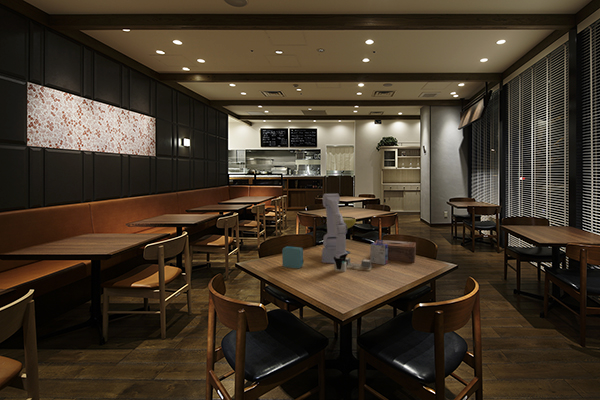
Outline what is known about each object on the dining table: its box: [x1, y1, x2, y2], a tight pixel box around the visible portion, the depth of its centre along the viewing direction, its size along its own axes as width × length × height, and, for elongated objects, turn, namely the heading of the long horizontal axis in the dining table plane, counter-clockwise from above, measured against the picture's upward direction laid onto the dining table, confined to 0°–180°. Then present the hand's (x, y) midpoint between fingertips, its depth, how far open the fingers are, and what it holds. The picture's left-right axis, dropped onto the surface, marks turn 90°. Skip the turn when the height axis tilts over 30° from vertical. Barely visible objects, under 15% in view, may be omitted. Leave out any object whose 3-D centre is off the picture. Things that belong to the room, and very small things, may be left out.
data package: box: [281, 245, 304, 270], centre depth 187 cm, size 12×4×12 cm, turn 69°
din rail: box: [346, 262, 373, 268], centre depth 186 cm, size 19×5×1 cm, turn 68°
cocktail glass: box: [334, 216, 357, 255], centre depth 220 cm, size 18×18×25 cm
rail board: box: [346, 264, 373, 272], centre depth 186 cm, size 19×9×1 cm, turn 68°
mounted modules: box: [345, 257, 372, 267], centre depth 186 cm, size 18×5×3 cm, turn 68°
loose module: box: [334, 261, 347, 273], centre depth 180 cm, size 6×4×5 cm, turn 68°
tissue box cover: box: [374, 239, 417, 263], centre depth 207 cm, size 26×14×10 cm, turn 67°
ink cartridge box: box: [369, 239, 389, 266], centre depth 194 cm, size 10×6×14 cm, turn 56°
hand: (340, 267), depth 180 cm, fingers open, 7 cm apart
